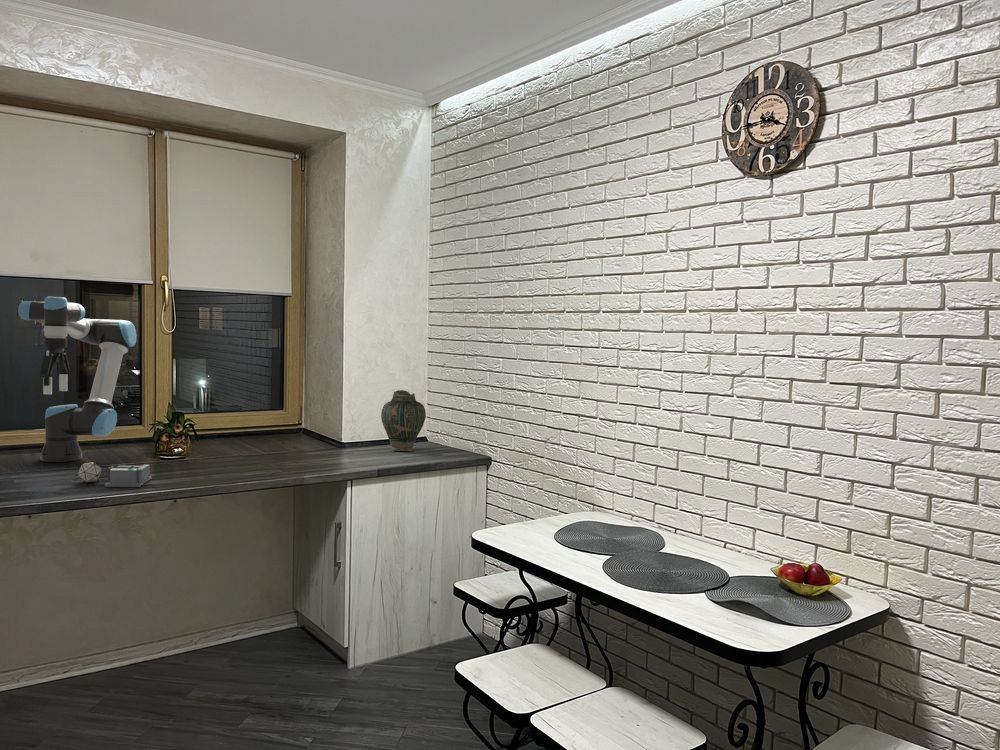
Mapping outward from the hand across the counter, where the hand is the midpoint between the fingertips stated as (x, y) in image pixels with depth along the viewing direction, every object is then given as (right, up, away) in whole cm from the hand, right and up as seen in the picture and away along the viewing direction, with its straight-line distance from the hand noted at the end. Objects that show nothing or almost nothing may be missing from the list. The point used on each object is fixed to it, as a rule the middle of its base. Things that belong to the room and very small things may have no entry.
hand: (55, 392), depth 277 cm
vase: (+122, -31, +85) cm, 152 cm away
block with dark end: (+30, -32, -8) cm, 45 cm away
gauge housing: (+32, -34, -7) cm, 46 cm away
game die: (+18, -33, -9) cm, 39 cm away
